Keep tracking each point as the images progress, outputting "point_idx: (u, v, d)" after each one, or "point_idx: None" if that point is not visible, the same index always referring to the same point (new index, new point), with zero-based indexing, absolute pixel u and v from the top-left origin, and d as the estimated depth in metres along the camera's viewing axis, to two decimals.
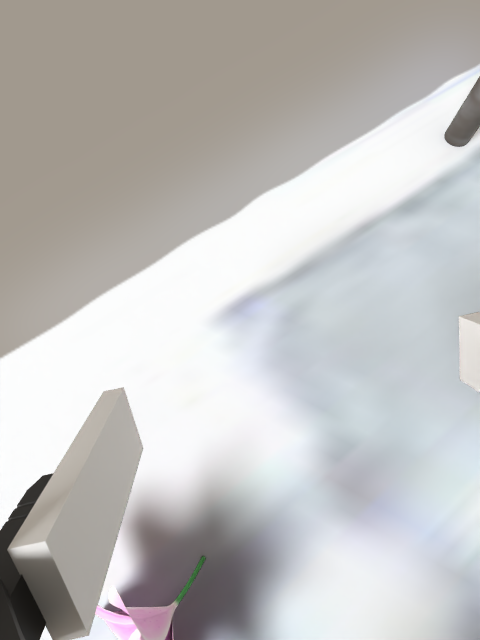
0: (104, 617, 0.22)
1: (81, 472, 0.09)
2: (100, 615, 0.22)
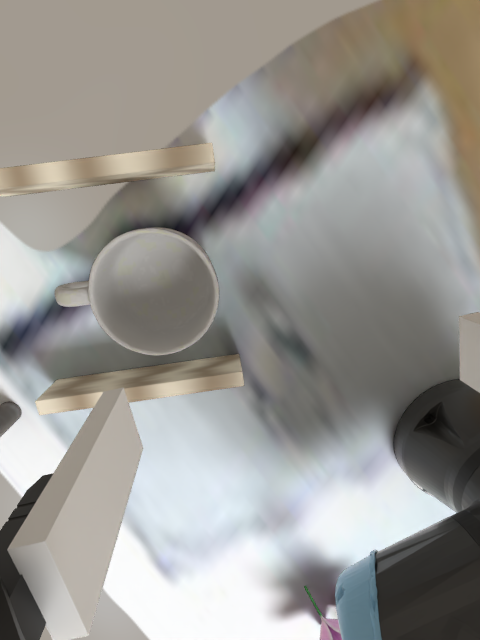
0: None
1: (81, 472, 0.09)
2: None
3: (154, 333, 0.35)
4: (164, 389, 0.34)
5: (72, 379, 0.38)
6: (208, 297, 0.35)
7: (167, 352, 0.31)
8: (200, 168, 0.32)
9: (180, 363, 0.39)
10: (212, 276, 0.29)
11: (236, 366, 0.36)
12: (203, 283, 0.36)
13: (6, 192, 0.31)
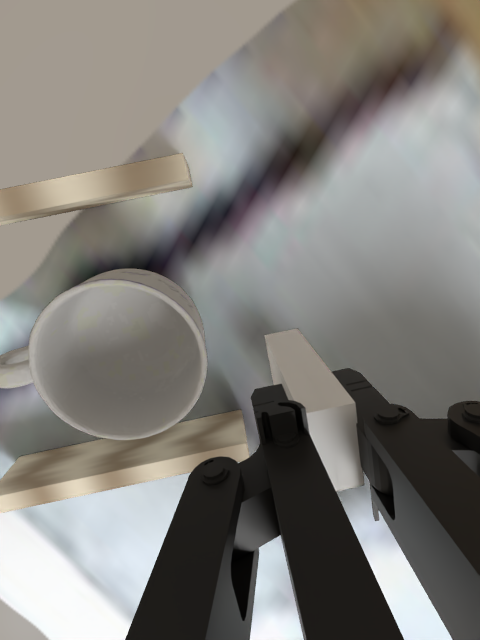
0: None
1: (308, 377, 0.11)
2: None
3: (130, 401, 0.27)
4: (148, 471, 0.27)
5: (37, 456, 0.31)
6: (196, 350, 0.27)
7: (145, 435, 0.23)
8: (171, 187, 0.24)
9: None
10: (196, 335, 0.22)
11: (238, 432, 0.28)
12: (189, 330, 0.28)
13: None
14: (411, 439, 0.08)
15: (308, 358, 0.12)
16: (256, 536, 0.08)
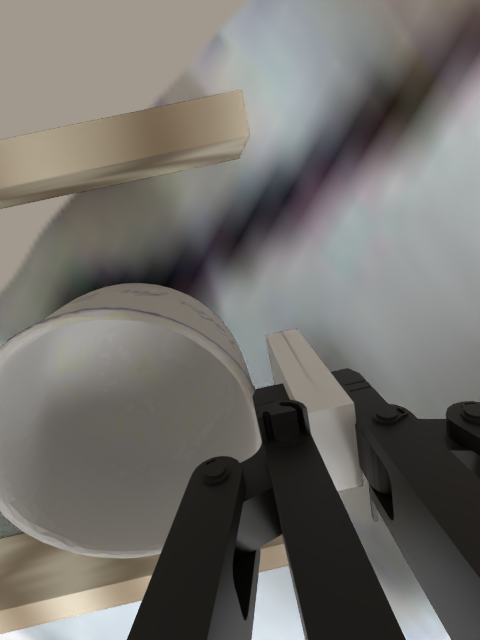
0: None
1: (309, 376, 0.11)
2: None
3: (137, 478, 0.18)
4: None
5: (17, 541, 0.22)
6: (233, 399, 0.18)
7: None
8: (214, 154, 0.15)
9: None
10: (248, 397, 0.13)
11: None
12: (221, 370, 0.19)
13: None
14: (410, 439, 0.08)
15: (307, 358, 0.12)
16: (258, 536, 0.08)
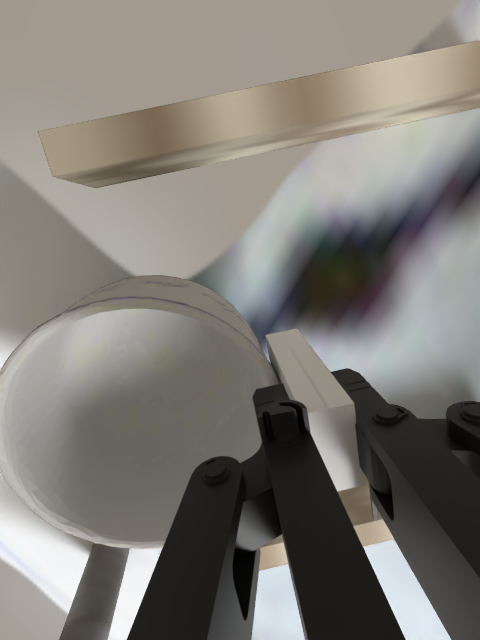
0: None
1: (309, 377, 0.11)
2: None
3: (154, 471, 0.18)
4: None
5: None
6: (250, 393, 0.19)
7: None
8: None
9: None
10: None
11: None
12: (237, 363, 0.19)
13: (111, 175, 0.15)
14: (410, 440, 0.08)
15: (307, 358, 0.12)
16: (257, 536, 0.08)
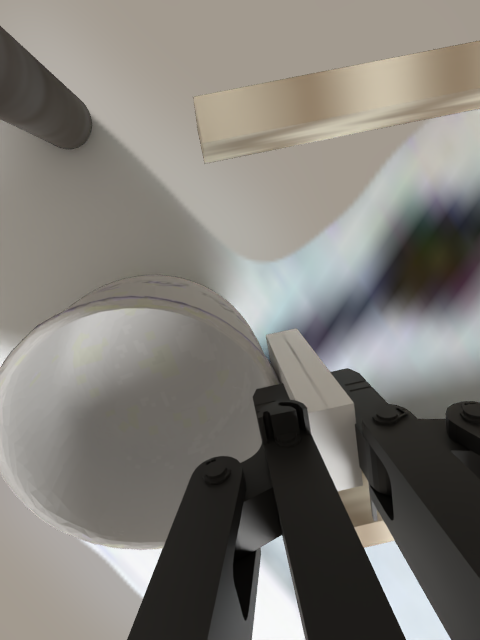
0: None
1: (309, 376, 0.11)
2: None
3: (153, 471, 0.18)
4: None
5: None
6: (249, 393, 0.18)
7: None
8: None
9: None
10: None
11: None
12: (237, 363, 0.19)
13: (238, 148, 0.15)
14: (410, 440, 0.08)
15: (307, 358, 0.12)
16: (258, 536, 0.08)
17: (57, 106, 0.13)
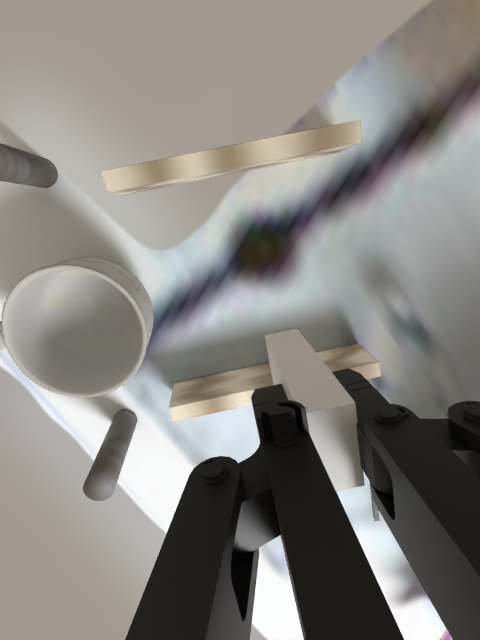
0: None
1: (308, 377, 0.11)
2: None
3: (91, 369, 0.32)
4: None
5: (190, 382, 0.37)
6: None
7: (97, 393, 0.29)
8: (335, 149, 0.30)
9: None
10: (137, 311, 0.27)
11: (367, 356, 0.35)
12: None
13: (132, 190, 0.29)
14: (412, 439, 0.08)
15: (308, 358, 0.12)
16: (256, 536, 0.08)
17: (36, 173, 0.27)
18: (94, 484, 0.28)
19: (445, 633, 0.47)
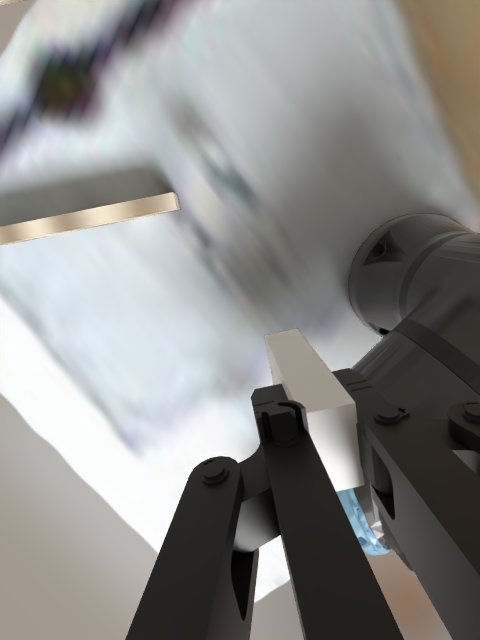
0: None
1: (308, 377, 0.11)
2: None
3: None
4: (94, 215, 0.34)
5: None
6: None
7: None
8: None
9: None
10: None
11: None
12: None
13: None
14: (411, 439, 0.08)
15: (308, 358, 0.12)
16: (256, 536, 0.08)
17: None
18: None
19: None
